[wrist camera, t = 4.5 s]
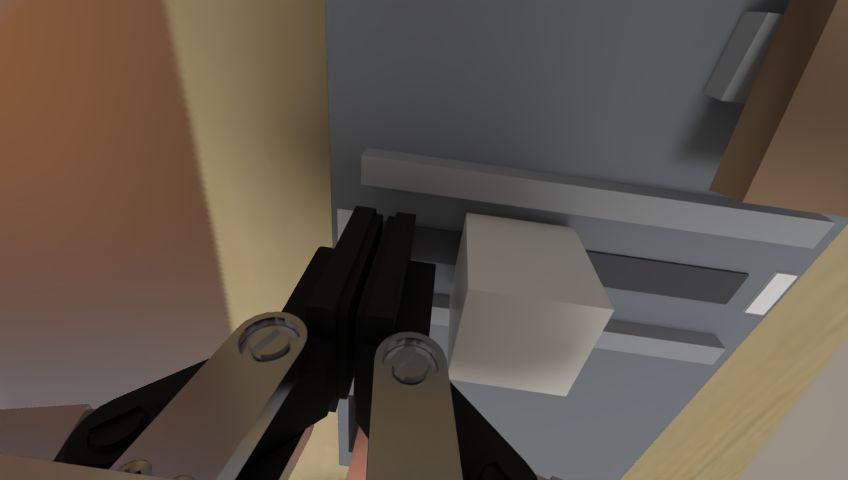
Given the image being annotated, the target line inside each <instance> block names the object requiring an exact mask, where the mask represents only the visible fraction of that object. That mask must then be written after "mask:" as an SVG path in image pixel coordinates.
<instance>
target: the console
mask: <svg viewBox="0 0 848 480" xmlns="http://www.w3.org/2000/svg"><path fill="white" fill-rule="evenodd" d="M789 1H790V0H325V9H326V42H327V75H328V108H329V141H330V174H331V207H332V239H333V248H335V246H336V244H337V242H338V240H339V238H340V236H341V234H342V232H343V230H344V229H345V227H346V225H347V223H348V221H349V219H350V217H351V215H352V213H353V211H354V209H355V207H356V206H363V207H370V208H376V209H377V214H382V215H383V229H382V234H383V231H384V228H385V225H386V222H387V219H388V216H396V213H397V212H402V213H409V214H416V222H415V229H414V237H413V244H412V252H411V260H413V261H420V262H426V263H433V264H436V272H435V283H434V293H433V303H432V314H431V324H430V334H429V337H430V338H431V339H433V340H434V341H435V342H437V343H438V344H439V346H440V347H441V348H442V350H443V351H444V353H445V357H446V360H447V354H448V329H449V305H450V291H451V286H452V281H453V276H454V271H455V266H456V261H457V256H458V252H459V247H460V242H461V237H462V232H463V227H464V222H465V218H466V213H474V214H481V215H488V216H495V217H502V218H509V219H516V220H523V221H530V222H537V223H544V224H551V225H558V226H565V227H572V228H575V230H576V232H577V234H578V236H579V238H580V240H581V242H582V245H583V247H584V249H585V251H586V253H587V255H588V257H589V259H590V261H591V263H592V265H593V267H594V269H595V271H596V273H597V275H598V277H599V279H600V281H601V283H602V285H603V287H604V290H605V292H606V294H607V296H608V298H609V300H610V302H611V304H612V306H613V308H614V312H613V313H612V315H611V317H610V319H609V321H608V322H607V324H606V326H605V328H604V330H603V331H602V333H601V335H600V337H599V338H598V340H597V342H596V344H595V346H594V347H593V349H592V351H591V353H590V355H589V356H588V358H587V360H586V362H585V364H584V365H583V367H582V369H581V371H580V372H579V374H578V376H577V378H576V380H575V381H574V383H573V385H572V387H571V389H570V390H569V392H568V394H567V396H566V397H565V396H559V395H552V394H545V393H538V392H531V391H525V390H518V389H511V388H504V387H497V386H491V385H484V384H477V383H470V382H463V381H456V380H450V379H449V380H450V382H451V383H452V384H453V385H454V386H455V387H456V388H457V389H458V390H459V391H460V392H461V393H462V394H463V395H464V396H465V397H466V399H467V400H468V401H469V402H470V403H471V404H472V405H473V406H474V407H475V408H476V409H477V410H478V411H479V412H480V413H481V414H482V416H483V417H484V418H485V419H486V420H487V421H488V422H489V423H490V424H491V425H492V426H493V427H494V428H495V429H496V430H497V431H498V433H499V434H500V435H501V436H502V437H503V438H504V439H505V440H506V441H507V442H508V443H509V444H510V445H511V446H512V447H513V448H514V450H515V451H516V452H517V453H518V454H519V455H520V456H521V457H522V458H523V459H524V460H525V461H526V462H527V464H528V465H529V466H530V468H531V469H532V470H533V472H534V473H535V474H537V475H539V476H542V477H544V478H547V479H549V480H550V478H551V477H552V475H553V476H555V477H557V478H560V479H562V480H620V479H621V478H622V477H623V476H624V475H625V474H626V472H627V471H628V470H629V469H630V468H631V467H632V466H633V465H634V463H635V462H636V461H637V460H638V459H639V458H640V457H641V456H642V454H643V453H644V452H645V451H646V450H647V449H648V448H649V447H650V446H651V444H652V443H653V442H654V441H655V440H656V439H657V438H658V437H659V435H660V434H661V433H662V432H663V431H664V430H665V429H666V428H667V426H668V425H669V424H670V423H671V422H672V421H673V420H674V419H675V417H676V416H677V415H678V414H679V413H680V412H681V411H682V410H683V408H684V407H685V406H686V405H687V404H688V403H689V402H690V401H691V399H692V398H693V397H694V396H695V395H696V394H697V393H698V392H699V390H700V389H701V388H702V387H703V386H704V385H705V384H706V383H707V381H708V380H709V379H710V378H711V377H712V376H713V375H714V374H715V373H716V371H717V370H718V369H719V368H720V367H721V366H722V365H723V364H724V362H725V361H726V360H727V359H728V358H729V357H730V356H731V355H732V353H733V352H734V351H735V350H736V349H737V348H738V347H739V346H740V344H741V343H742V342H743V341H744V340H745V339H746V338H747V337H748V335H749V334H750V333H751V332H752V331H753V330H754V329H755V328H756V326H757V325H758V324H759V323H760V322H761V321H762V320H763V319H764V317H765V316H766V315H767V314H768V313H769V312H770V311H771V310H772V308H773V307H774V306H775V305H776V304H777V303H778V302H779V301H780V300H781V298H782V297H783V296H784V295H785V294H786V293H787V292H788V291H789V289H790V288H791V287H792V286H793V285H794V284H795V283H796V282H797V280H798V279H799V278H800V277H801V276H802V275H803V274H804V273H805V271H806V270H807V269H808V268H809V267H810V266H811V265H812V264H813V262H814V261H815V260H816V259H817V258H818V257H819V256H820V255H821V253H822V252H823V251H824V250H825V249H826V248H827V247H828V246H829V244H830V243H831V242H832V241H833V240H834V239H835V238H836V237H837V235H838V234H839V233H840V232H841V231H842V230H843V229H844V228H845V226H846V225H847V224H848V217H842V216H835V215H828V214H821V213H814V212H807V211H800V210H792V209H785V208H778V207H771V206H764V205H757V204H750V203H743V202H740V201H737V200H734V199H732V198H729V197H726V196H723V195H721V194H718V193H715V192H712V191H710V190H709V188H710V186H711V183H712V181H713V179H714V176H715V174H716V172H717V169H718V167H719V165H720V162H721V160H722V158H723V155H724V153H725V151H726V148H727V146H728V144H729V141H730V139H731V137H732V134H733V132H734V130H735V127H736V125H737V123H738V120H739V118H740V116H741V113H742V111H743V109H744V106H745V104H746V102H747V99H748V97H749V95H750V92H751V90H752V88H753V85H754V83H755V81H756V78H757V76H758V74H759V71H760V69H761V67H762V64H763V62H764V60H765V57H766V55H767V53H768V50H769V48H770V46H771V43H772V41H773V39H774V36H775V34H776V32H777V29H778V27H779V25H780V22H781V20H782V18H783V15H784V13H785V11H786V8H787V6H788V4H789ZM353 391H354V379H353V382H352V386H351V389H350V393H349V396H348V399H347V400H344V399H339V403H338V437H339V465H344V466H349V465H350V461H351V457H352V453H353V449H354V444H355V440H356V436H357V432H358V428H359V425H358V424H357V422H356V421H355V412H356V401H353Z"/></svg>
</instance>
